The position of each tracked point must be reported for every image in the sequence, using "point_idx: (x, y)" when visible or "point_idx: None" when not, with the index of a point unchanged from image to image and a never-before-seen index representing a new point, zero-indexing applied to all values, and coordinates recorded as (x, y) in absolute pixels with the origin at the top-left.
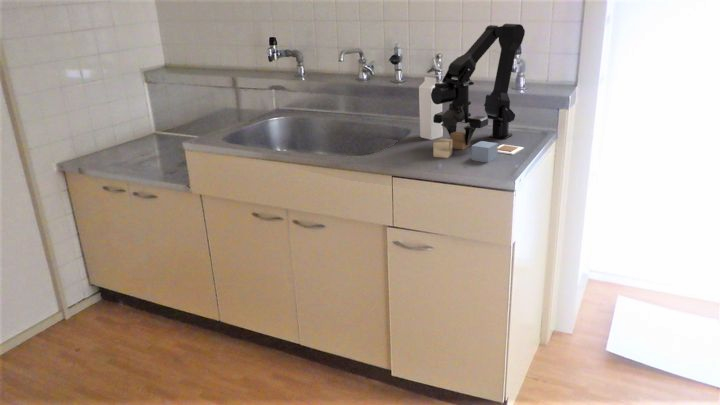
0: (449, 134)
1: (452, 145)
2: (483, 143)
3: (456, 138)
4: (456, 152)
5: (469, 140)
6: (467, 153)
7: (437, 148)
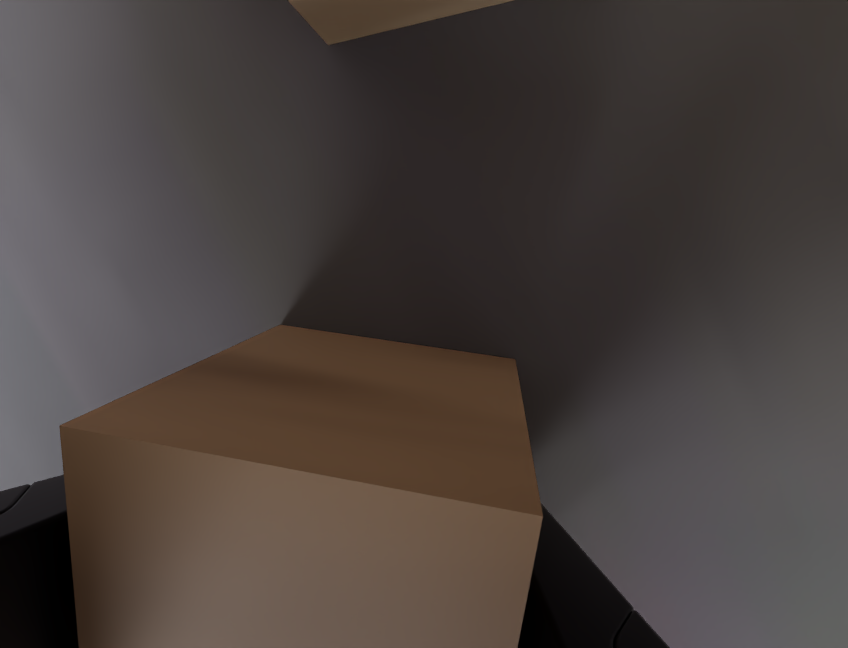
0: (618, 599)
1: (467, 364)
2: None
3: (329, 409)
4: (294, 137)
5: None
6: (120, 159)
7: None
